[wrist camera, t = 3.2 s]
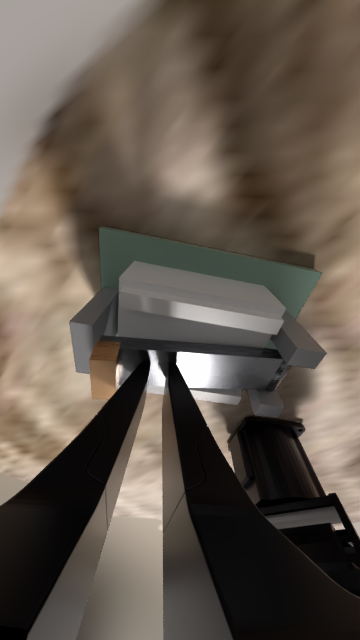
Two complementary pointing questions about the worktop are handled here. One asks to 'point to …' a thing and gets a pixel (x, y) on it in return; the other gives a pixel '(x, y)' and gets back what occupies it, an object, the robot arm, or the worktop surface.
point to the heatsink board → (197, 305)
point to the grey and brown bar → (184, 364)
